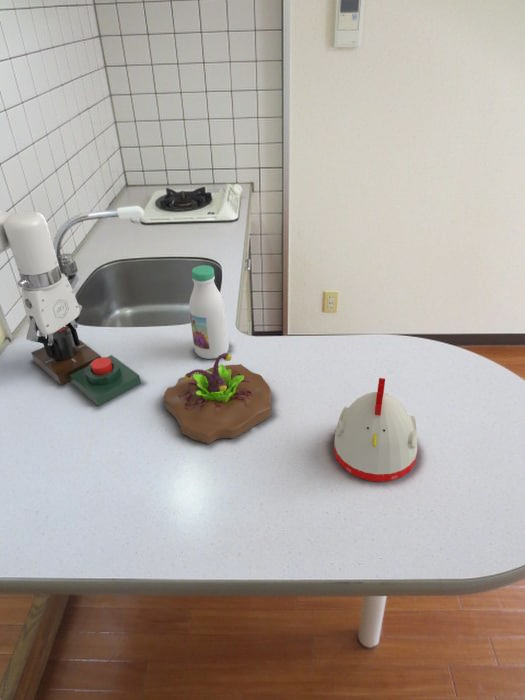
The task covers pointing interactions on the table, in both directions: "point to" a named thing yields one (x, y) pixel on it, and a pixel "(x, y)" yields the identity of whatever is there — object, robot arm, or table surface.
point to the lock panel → (65, 362)
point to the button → (101, 366)
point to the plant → (219, 401)
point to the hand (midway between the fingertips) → (64, 350)
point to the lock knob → (65, 343)
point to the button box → (105, 381)
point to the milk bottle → (207, 315)
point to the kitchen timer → (376, 437)
